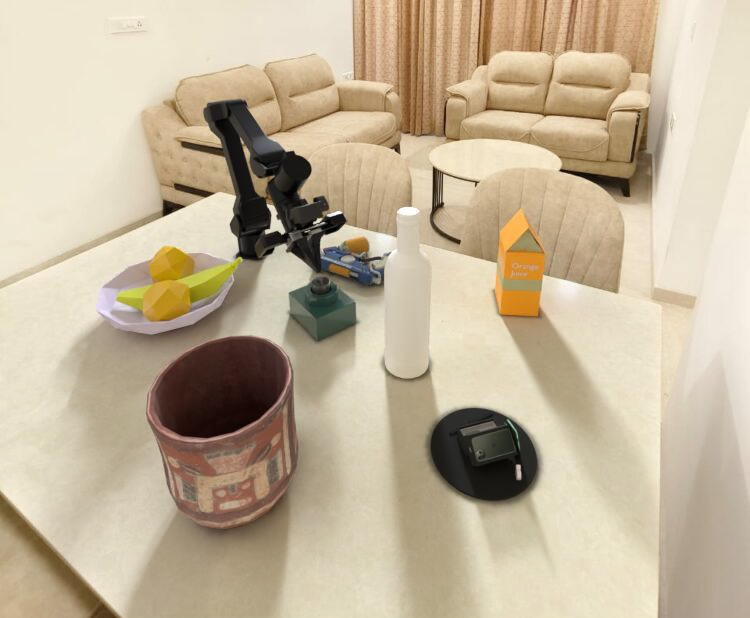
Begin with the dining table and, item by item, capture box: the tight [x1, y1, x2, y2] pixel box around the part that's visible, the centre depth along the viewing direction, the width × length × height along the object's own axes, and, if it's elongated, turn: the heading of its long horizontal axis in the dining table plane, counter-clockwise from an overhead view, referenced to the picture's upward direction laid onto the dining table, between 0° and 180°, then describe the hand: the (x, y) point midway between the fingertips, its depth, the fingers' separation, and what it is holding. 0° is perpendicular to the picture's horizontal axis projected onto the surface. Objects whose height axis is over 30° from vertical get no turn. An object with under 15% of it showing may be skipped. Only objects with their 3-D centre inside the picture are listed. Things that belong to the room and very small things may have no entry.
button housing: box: [288, 280, 357, 342], centre depth 100 cm, size 11×9×7 cm
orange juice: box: [494, 208, 547, 317], centre depth 102 cm, size 8×9×20 cm
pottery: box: [145, 334, 299, 530], centre depth 65 cm, size 18×18×18 cm
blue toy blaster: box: [320, 236, 393, 286], centre depth 119 cm, size 21×4×15 cm
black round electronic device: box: [430, 407, 538, 502], centre depth 71 cm, size 15×15×6 cm
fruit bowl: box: [95, 245, 244, 336], centre depth 103 cm, size 28×27×11 cm
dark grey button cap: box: [310, 275, 331, 295], centre depth 99 cm, size 4×4×2 cm
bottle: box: [383, 206, 433, 379], centre depth 84 cm, size 8×8×30 cm
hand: (319, 272), depth 98 cm, fingers closed
